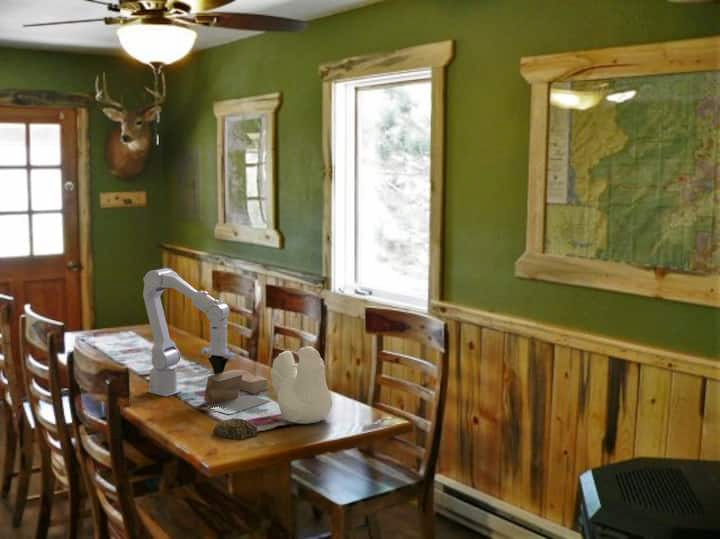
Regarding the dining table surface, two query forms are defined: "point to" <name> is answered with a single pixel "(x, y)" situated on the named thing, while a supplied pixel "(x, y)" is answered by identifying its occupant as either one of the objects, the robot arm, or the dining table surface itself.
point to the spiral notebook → (241, 403)
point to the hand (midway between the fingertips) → (218, 377)
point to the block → (222, 387)
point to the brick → (252, 382)
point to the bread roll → (235, 429)
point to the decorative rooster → (301, 386)
